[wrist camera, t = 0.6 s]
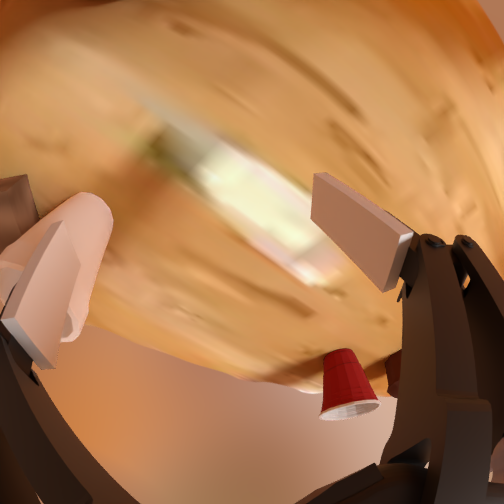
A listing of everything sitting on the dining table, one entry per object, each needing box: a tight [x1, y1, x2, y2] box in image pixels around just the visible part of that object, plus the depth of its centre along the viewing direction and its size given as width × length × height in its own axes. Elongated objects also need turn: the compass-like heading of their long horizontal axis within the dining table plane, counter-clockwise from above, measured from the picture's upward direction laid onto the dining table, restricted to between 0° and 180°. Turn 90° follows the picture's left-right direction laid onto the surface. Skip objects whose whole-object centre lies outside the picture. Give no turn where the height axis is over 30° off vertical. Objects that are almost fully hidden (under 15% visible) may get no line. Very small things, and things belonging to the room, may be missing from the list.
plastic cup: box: [319, 348, 381, 421], centre depth 41 cm, size 11×11×12 cm
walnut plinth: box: [0, 174, 40, 255], centre depth 23 cm, size 14×14×4 cm
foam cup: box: [0, 192, 114, 342], centre depth 21 cm, size 10×9×13 cm
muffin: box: [385, 349, 402, 398], centre depth 46 cm, size 12×11×10 cm
